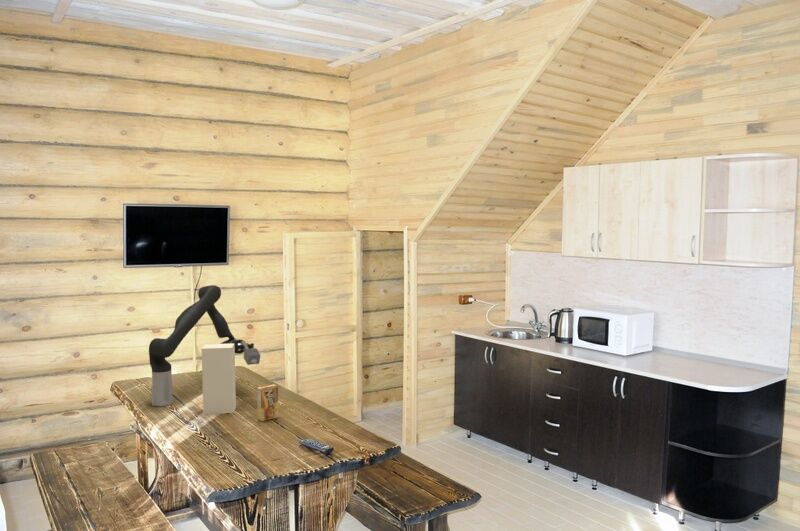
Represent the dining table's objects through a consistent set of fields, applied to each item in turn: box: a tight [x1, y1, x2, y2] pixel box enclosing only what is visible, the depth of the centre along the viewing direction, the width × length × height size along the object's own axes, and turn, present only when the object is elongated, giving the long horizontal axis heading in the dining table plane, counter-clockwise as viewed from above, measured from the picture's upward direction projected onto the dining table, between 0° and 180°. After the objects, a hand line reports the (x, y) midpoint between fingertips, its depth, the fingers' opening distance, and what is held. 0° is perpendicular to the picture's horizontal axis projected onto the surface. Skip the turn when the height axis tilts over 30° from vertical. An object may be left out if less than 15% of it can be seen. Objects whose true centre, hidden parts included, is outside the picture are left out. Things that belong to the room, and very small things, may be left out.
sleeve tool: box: [240, 340, 261, 366], centre depth 322 cm, size 6×19×5 cm, turn 32°
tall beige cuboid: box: [201, 343, 237, 415], centre depth 306 cm, size 14×10×32 cm
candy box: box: [256, 384, 279, 422], centre depth 296 cm, size 9×4×15 cm, turn 129°
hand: (246, 346), depth 324 cm, fingers closed on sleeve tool, 3 cm apart
